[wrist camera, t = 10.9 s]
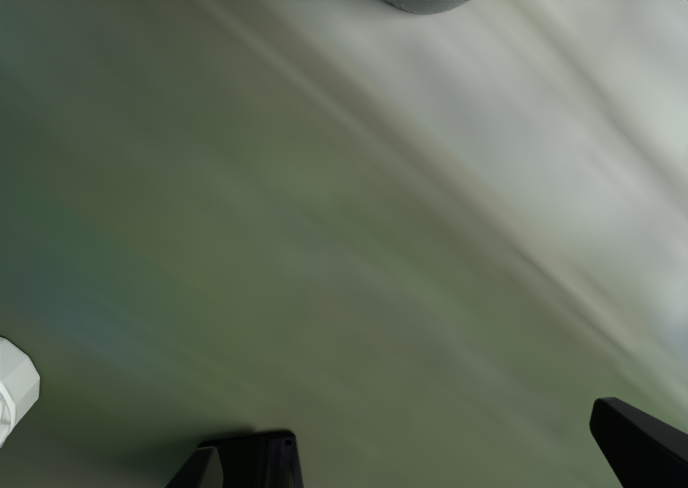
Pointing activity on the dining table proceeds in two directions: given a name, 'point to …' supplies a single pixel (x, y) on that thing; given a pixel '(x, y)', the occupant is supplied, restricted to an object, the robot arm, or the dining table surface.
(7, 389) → the white cup
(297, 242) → the dining table surface
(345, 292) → the dining table surface
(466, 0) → the supplement bottle
